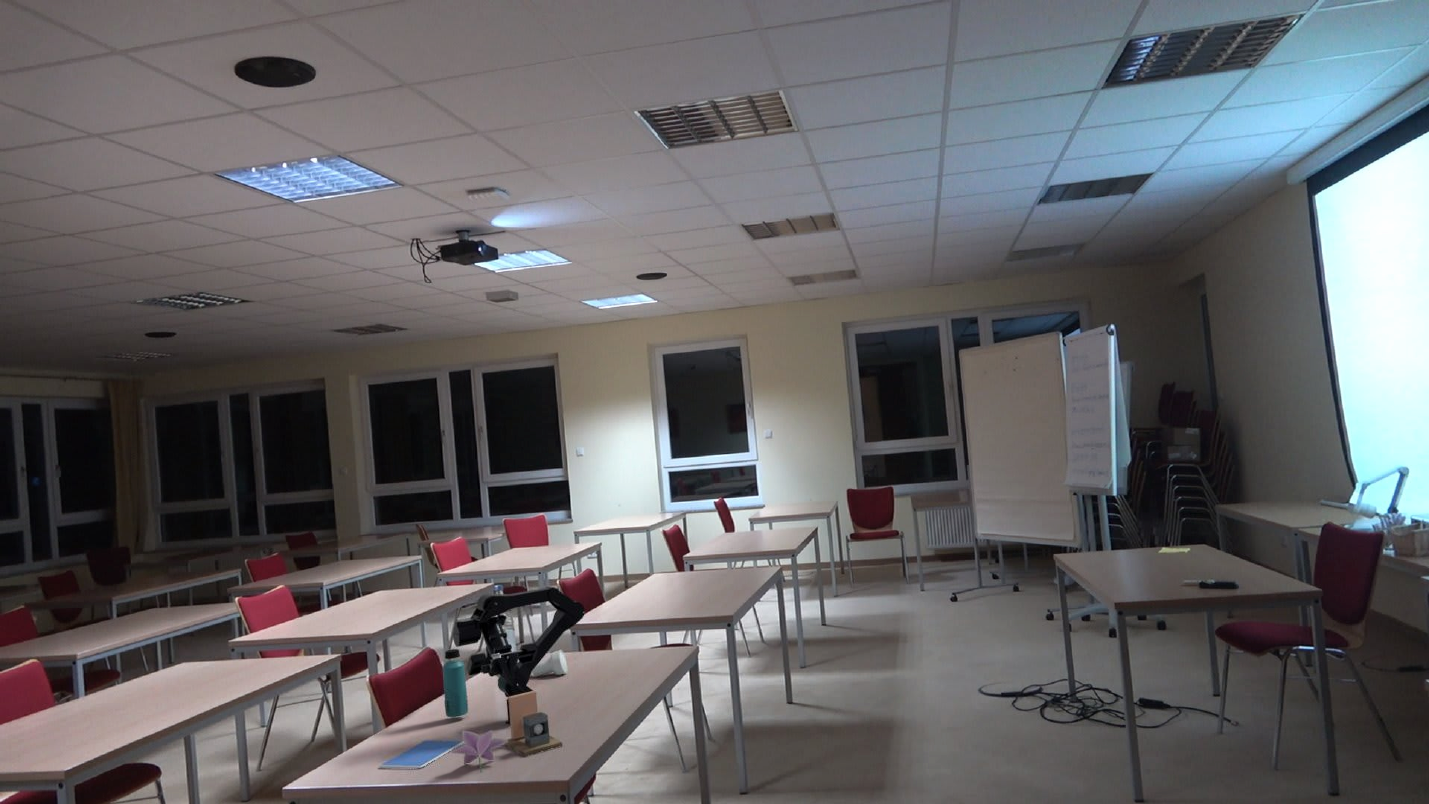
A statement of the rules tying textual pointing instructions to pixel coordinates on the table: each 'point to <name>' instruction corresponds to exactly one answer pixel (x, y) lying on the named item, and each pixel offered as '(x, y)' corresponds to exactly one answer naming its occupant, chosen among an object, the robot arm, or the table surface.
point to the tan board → (525, 750)
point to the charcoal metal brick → (529, 735)
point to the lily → (478, 746)
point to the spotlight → (552, 665)
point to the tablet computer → (421, 754)
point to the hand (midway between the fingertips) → (512, 684)
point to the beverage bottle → (454, 685)
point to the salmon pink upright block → (522, 713)
